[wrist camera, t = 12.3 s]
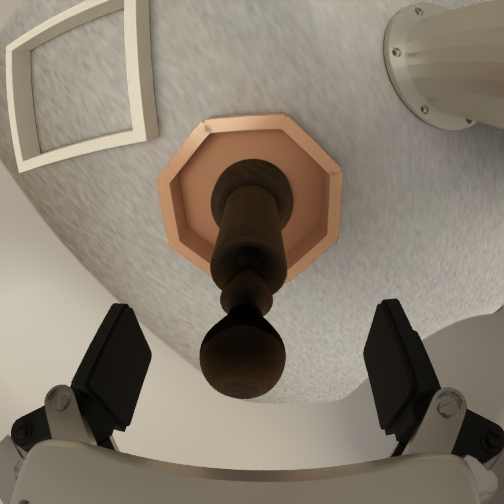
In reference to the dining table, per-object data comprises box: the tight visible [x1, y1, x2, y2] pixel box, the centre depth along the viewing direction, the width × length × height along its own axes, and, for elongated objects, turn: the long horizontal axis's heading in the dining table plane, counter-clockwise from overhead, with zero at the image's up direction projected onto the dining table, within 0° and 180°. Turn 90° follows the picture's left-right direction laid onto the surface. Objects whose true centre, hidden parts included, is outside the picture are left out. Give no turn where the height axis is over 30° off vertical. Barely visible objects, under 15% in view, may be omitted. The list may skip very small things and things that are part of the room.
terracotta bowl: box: [157, 113, 343, 283], centre depth 23 cm, size 14×14×4 cm
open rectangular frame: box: [6, 0, 159, 173], centre depth 18 cm, size 15×14×3 cm
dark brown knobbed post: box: [200, 159, 294, 399], centre depth 16 cm, size 7×6×18 cm
